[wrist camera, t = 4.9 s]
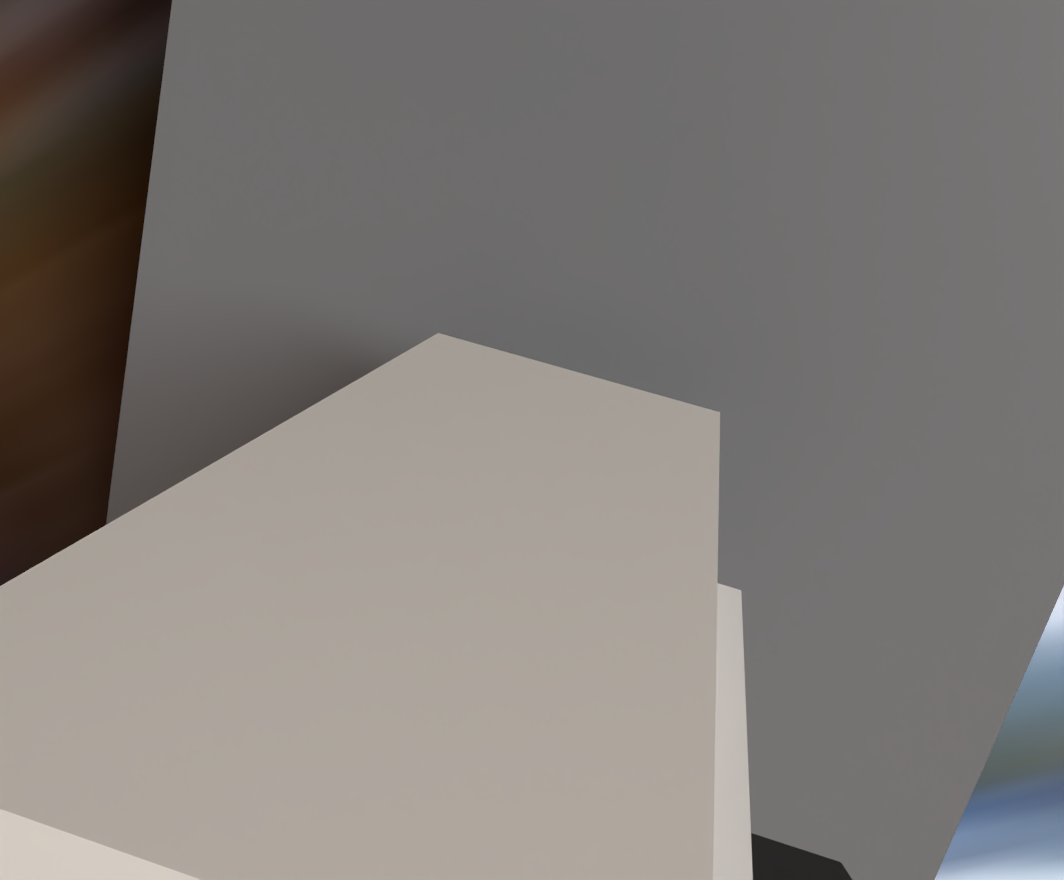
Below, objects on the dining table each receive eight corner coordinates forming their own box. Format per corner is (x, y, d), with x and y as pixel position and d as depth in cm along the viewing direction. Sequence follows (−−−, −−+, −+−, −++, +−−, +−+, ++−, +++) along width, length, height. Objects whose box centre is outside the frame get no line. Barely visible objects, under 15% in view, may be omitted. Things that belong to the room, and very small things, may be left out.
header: (327, -197, 17) (210, -307, 13) (1191, -4, 15) (1348, -64, 11) (168, 796, 22) (55, 923, 19) (783, 1008, 21) (796, 1193, 17)
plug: (501, 295, 16) (-241, 727, 4) (721, 355, 15) (709, 1058, 3) (423, 630, 17) (-250, 1665, 5) (617, 691, 17) (363, 1952, 5)
